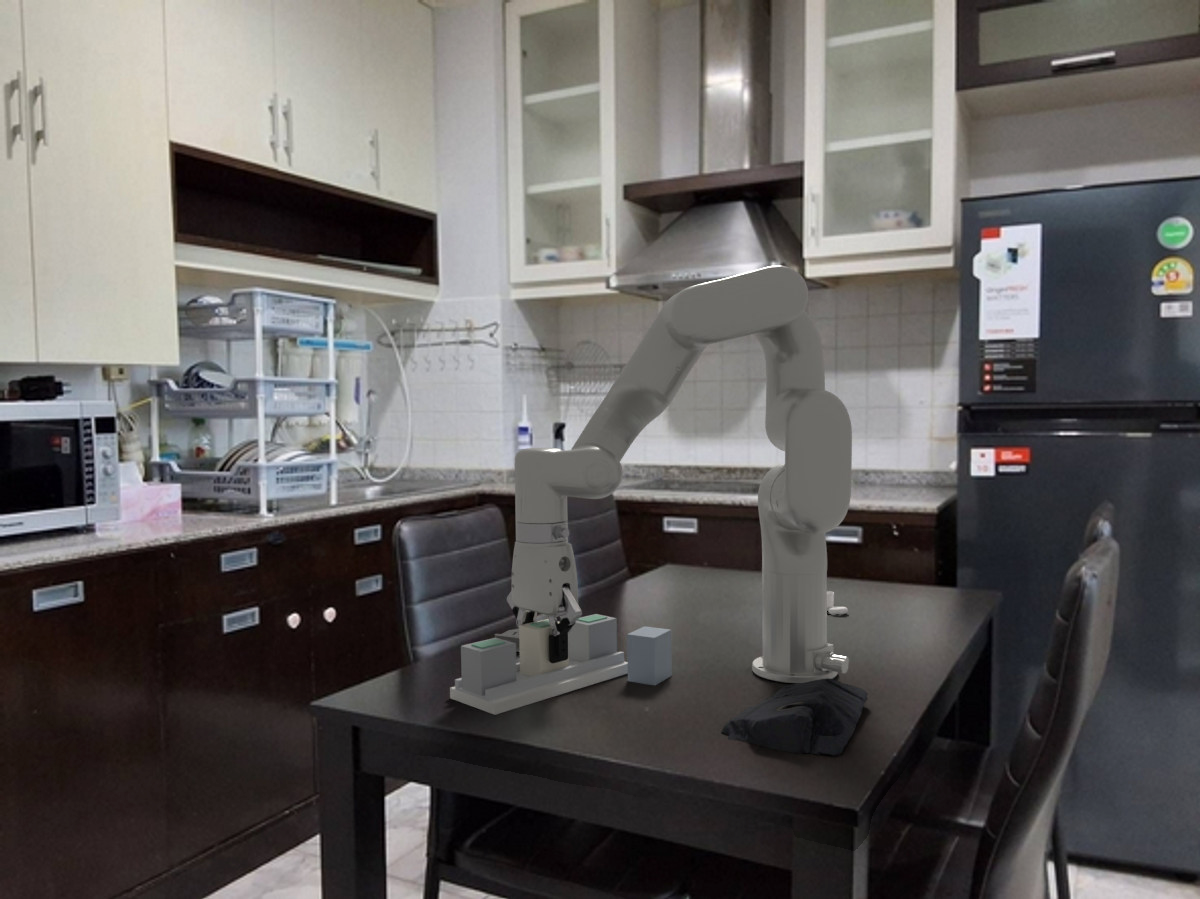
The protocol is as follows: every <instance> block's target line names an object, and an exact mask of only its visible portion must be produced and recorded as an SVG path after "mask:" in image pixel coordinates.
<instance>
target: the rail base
mask: <svg viewBox="0 0 1200 899" xmlns="http://www.w3.org/2000/svg"><path fill="white" fill-rule="evenodd" d="M624 675H628V661H625V652H624V651H617V653H613V654H610V655H606V656H603V657H599V658H596V659H592V660H589V661H585V662H582V663H580V662H576V661H573V660H569V666H568V667H564V668H560V669H557V670H553V671H550V672H546V673H543V674H539V675H536V676H532V677H531V676H527V675H524V674H521V673H520V661H519V662H516V681H515V682H511V683H508V684H504V685H501V686H497V687H494V688H490V689H487V690H485V695H484V696H480V695H477V694H474V693H472V692H469V691H466V690H463V689H462V677H459V678H456V679H454V686H451V687H449V698H450V699H451V700H454V701H456V702H460V703H462V704H465V705H467V706H470V707H472V708H473V707H474V708H476V709H479V710H480V711H484V712H486V713H489V714H491V715H494V716H495V715H499V714H501V713H505V712H509V711H512V710H515V709H519V708H521V707H524V706H527V705H531V704H534V703H537V702H540V701H544V700H546V699H547V700H548V699H550V698H553V697H556V696H557V697H558V696H560V695H563V694H566V693H569V692H572V691H573V692H574V691H575V690H578V689H579V690H580V689H582V688H583V689H584V688H586V687H589V686H592V685H594V684H595V685H596V684H599V683H601V682H604V681H608V680H611V679H615V678H618V677H621V676H624Z"/></svg>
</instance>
